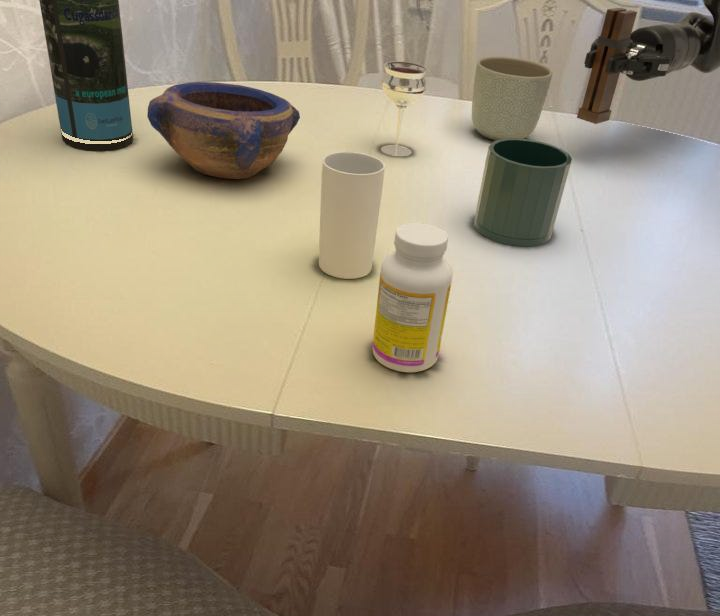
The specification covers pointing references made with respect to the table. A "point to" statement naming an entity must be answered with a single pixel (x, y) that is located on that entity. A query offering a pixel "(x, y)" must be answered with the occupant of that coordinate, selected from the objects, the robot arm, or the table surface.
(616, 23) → the tongs
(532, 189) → the crock
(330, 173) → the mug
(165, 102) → the bowl
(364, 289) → the table surface
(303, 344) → the table surface
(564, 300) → the table surface
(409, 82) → the wineglass
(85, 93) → the advertising column
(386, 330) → the supplement bottle
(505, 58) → the planter
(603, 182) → the table surface
